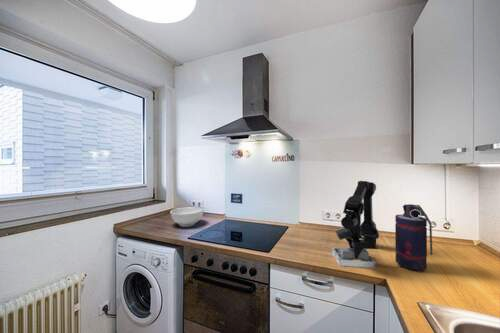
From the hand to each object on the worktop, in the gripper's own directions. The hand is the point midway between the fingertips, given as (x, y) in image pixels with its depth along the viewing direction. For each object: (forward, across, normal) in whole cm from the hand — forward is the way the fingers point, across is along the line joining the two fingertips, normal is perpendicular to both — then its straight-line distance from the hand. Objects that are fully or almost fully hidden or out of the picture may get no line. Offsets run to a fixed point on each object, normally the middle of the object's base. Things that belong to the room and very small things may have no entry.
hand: (354, 255), depth 99 cm
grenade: (+4, 0, +27) cm, 27 cm away
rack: (+4, -4, 0) cm, 5 cm away
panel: (+3, 0, 0) cm, 3 cm away
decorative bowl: (+4, -48, -114) cm, 124 cm away
